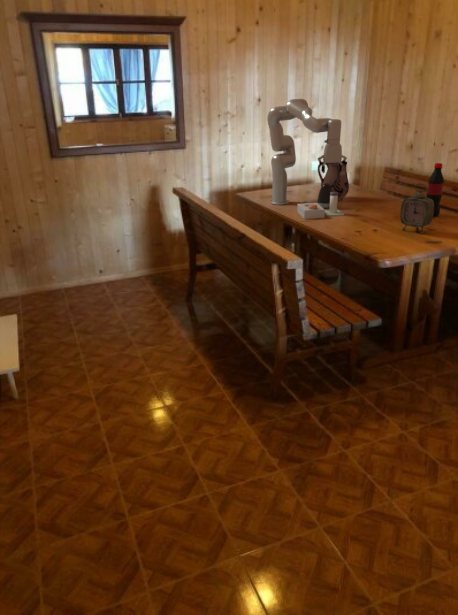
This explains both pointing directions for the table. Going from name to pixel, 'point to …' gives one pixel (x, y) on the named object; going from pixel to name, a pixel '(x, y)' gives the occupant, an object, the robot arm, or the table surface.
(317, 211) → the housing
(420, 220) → the tabletop clock
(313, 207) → the plunger
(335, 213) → the mat
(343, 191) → the ceramic pitcher
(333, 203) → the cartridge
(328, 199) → the pump dispenser
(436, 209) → the cola bottle
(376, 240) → the table surface
